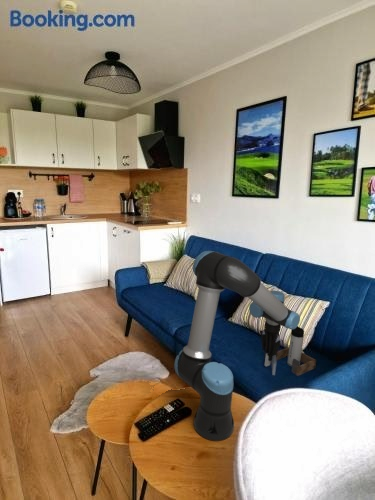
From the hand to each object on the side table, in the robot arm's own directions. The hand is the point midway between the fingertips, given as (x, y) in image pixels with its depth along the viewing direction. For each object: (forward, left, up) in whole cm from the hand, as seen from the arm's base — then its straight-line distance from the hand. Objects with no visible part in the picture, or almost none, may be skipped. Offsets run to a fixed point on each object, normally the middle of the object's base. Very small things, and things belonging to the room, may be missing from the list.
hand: (267, 365), depth 162 cm
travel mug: (+16, -4, -2) cm, 17 cm away
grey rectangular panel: (+3, -2, -2) cm, 3 cm away
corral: (+16, -4, -2) cm, 17 cm away
